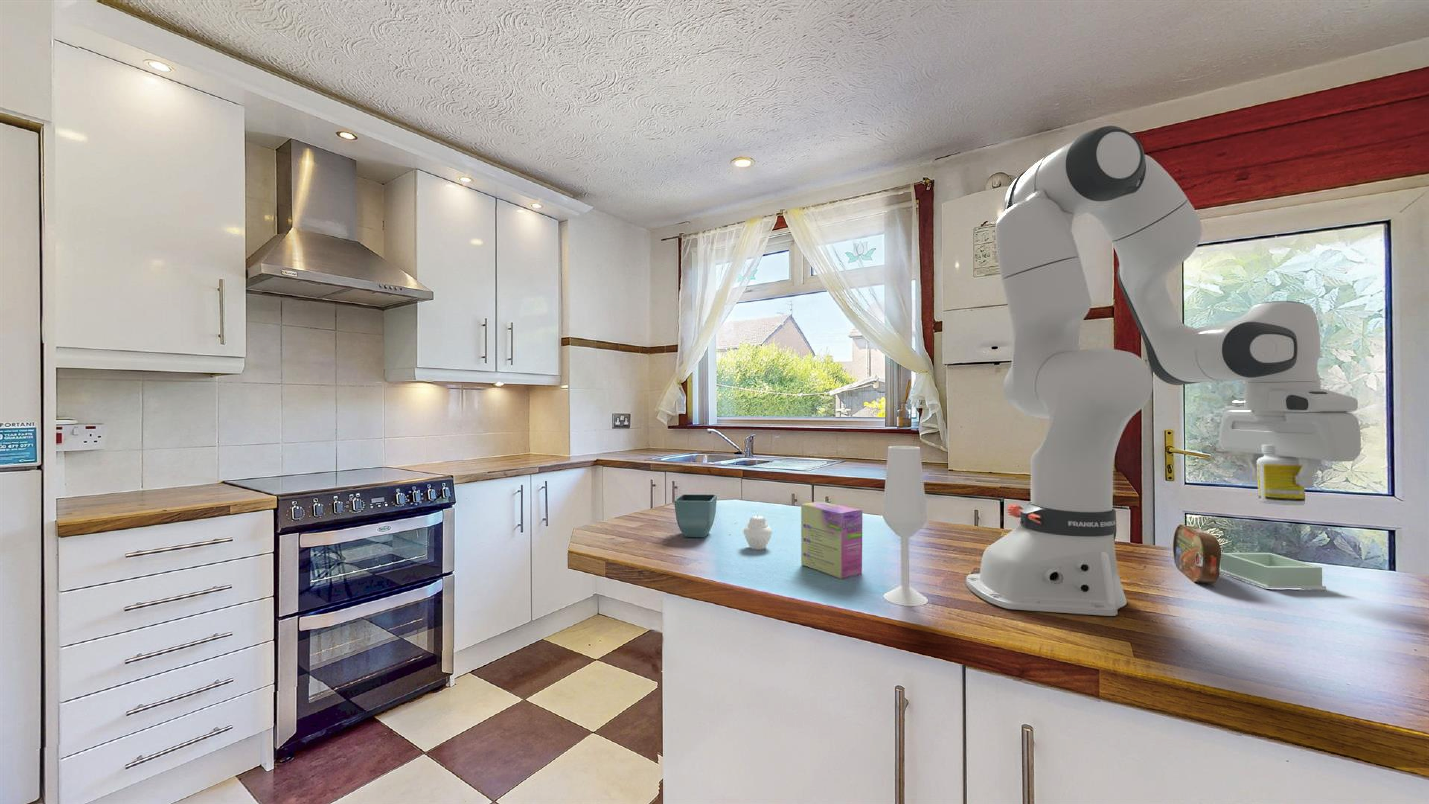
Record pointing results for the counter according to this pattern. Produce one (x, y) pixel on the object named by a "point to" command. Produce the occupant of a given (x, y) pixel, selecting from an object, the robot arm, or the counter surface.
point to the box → (831, 538)
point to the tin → (1197, 554)
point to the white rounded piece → (757, 533)
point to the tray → (1271, 570)
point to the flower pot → (695, 514)
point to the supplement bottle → (1278, 479)
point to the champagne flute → (904, 512)
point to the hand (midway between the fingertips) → (1281, 483)
